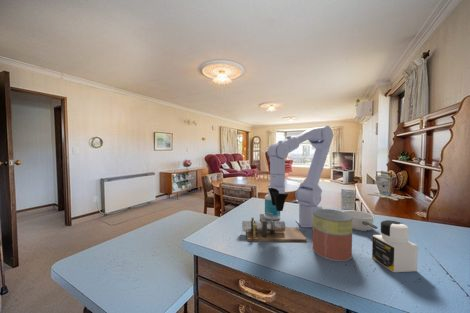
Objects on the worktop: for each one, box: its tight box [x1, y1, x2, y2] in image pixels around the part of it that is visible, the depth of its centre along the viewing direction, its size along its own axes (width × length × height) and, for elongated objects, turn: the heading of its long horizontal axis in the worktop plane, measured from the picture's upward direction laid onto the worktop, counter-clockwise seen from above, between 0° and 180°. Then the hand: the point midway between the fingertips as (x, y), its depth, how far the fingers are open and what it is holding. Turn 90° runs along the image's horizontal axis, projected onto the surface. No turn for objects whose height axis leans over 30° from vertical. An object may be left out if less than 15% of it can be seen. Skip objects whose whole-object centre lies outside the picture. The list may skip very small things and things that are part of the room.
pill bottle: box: [264, 189, 281, 221], centre depth 92 cm, size 8×7×14 cm
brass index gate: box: [251, 216, 257, 237], centre depth 73 cm, size 2×9×5 cm, turn 0°
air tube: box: [241, 220, 286, 233], centre depth 73 cm, size 16×5×5 cm, turn 90°
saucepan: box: [342, 209, 378, 232], centre depth 77 cm, size 12×20×6 cm, turn 169°
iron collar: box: [259, 213, 268, 237], centre depth 73 cm, size 2×8×6 cm, turn 0°
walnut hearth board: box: [246, 226, 308, 243], centre depth 73 cm, size 21×11×1 cm, turn 90°
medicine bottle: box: [371, 219, 419, 273], centre depth 54 cm, size 7×7×12 cm
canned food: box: [312, 208, 353, 262], centre depth 61 cm, size 11×11×12 cm
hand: (277, 207), depth 76 cm, fingers open, 7 cm apart
